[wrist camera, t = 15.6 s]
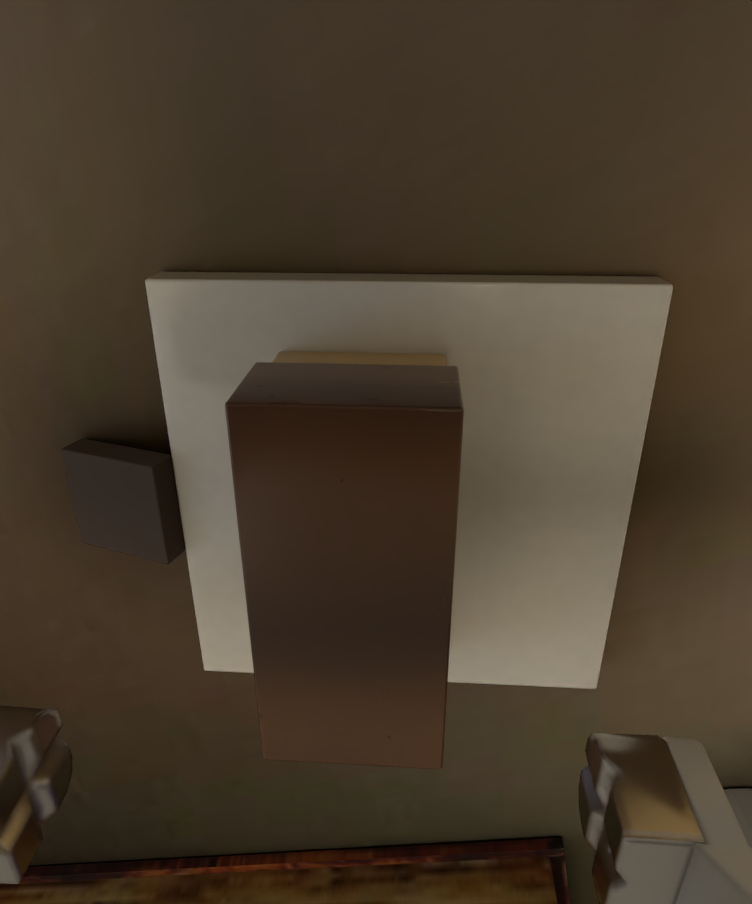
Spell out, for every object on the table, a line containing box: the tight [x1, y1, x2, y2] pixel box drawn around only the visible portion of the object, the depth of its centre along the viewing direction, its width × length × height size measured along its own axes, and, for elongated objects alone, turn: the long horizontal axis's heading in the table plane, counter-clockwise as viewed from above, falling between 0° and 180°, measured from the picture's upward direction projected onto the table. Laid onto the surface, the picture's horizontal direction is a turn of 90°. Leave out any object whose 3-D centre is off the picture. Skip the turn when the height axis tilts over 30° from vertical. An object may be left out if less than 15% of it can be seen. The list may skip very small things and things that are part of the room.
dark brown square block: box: [61, 438, 185, 564], centre depth 18 cm, size 3×3×1 cm
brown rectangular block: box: [225, 351, 464, 769], centre depth 16 cm, size 9×4×4 cm, turn 0°
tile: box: [145, 272, 673, 689], centre depth 18 cm, size 12×12×1 cm
